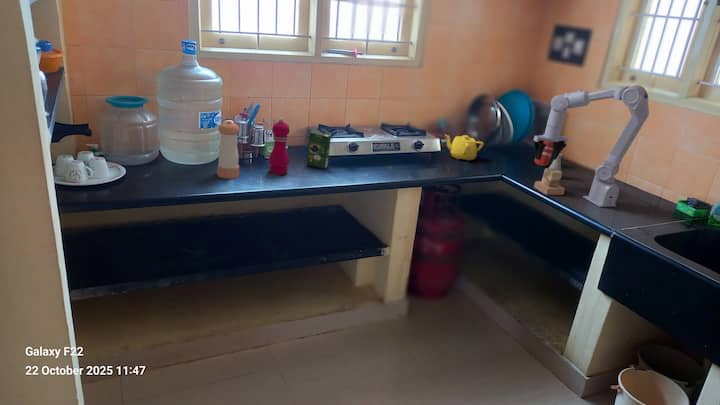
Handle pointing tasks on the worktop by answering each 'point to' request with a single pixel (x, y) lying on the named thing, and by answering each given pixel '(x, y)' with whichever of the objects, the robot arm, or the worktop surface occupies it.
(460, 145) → the teapot
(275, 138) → the pepper mill
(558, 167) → the flask
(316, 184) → the worktop surface
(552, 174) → the block
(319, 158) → the coffee box
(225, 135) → the salt shaker
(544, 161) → the beverage can
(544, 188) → the base
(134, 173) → the worktop surface
